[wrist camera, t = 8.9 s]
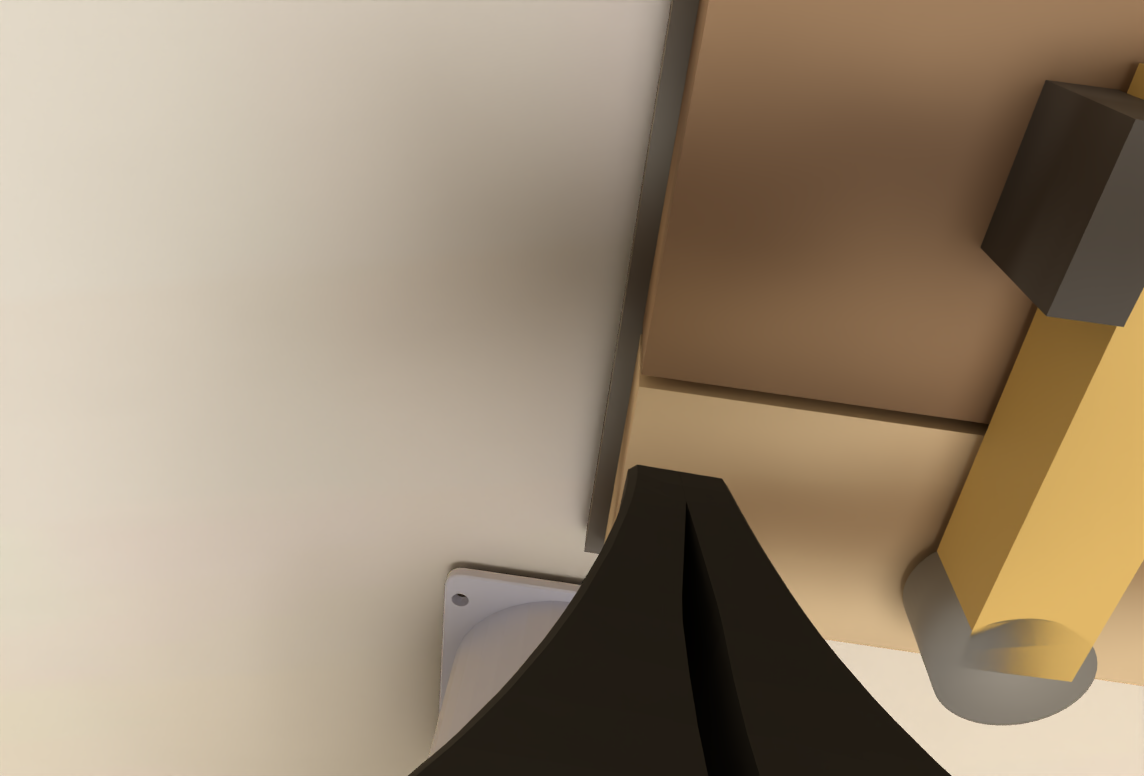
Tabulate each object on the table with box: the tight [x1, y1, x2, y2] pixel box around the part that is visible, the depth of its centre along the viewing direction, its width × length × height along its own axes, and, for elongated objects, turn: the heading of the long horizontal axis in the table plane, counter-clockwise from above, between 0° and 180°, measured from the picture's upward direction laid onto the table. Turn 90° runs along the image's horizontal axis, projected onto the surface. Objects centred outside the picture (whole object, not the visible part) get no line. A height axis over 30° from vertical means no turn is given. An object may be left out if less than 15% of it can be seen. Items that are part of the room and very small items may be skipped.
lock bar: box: [903, 63, 1144, 725], centre depth 16 cm, size 13×3×2 cm, turn 175°
